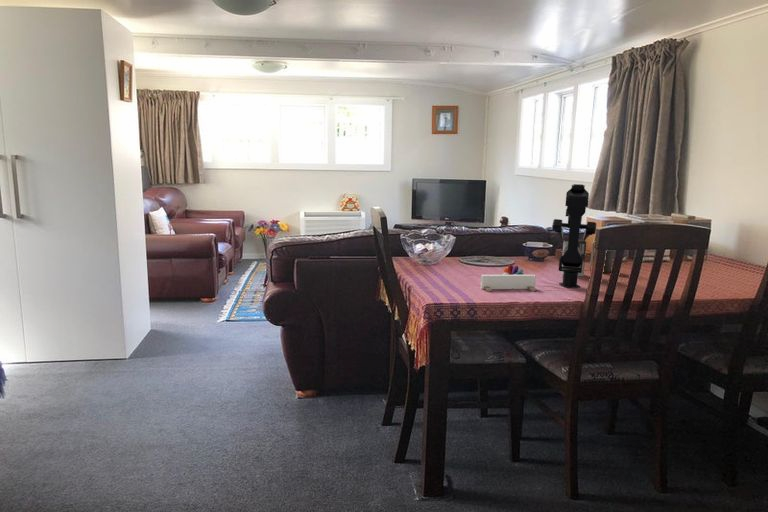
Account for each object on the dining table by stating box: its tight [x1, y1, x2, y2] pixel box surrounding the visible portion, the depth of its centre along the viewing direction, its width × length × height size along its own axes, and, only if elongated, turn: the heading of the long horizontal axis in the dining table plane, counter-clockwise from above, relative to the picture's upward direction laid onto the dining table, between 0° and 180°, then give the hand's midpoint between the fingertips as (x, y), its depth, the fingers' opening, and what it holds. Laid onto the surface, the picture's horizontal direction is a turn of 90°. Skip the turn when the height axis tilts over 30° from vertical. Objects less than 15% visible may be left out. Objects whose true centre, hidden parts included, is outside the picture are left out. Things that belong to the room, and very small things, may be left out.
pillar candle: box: [589, 241, 614, 274], centre depth 252 cm, size 10×10×15 cm
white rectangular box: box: [480, 274, 537, 292], centre depth 211 cm, size 6×22×6 cm, turn 97°
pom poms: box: [501, 264, 525, 275], centre depth 226 cm, size 8×10×7 cm
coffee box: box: [560, 238, 587, 277], centre depth 242 cm, size 9×6×16 cm
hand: (572, 240), depth 247 cm, fingers open, 9 cm apart
